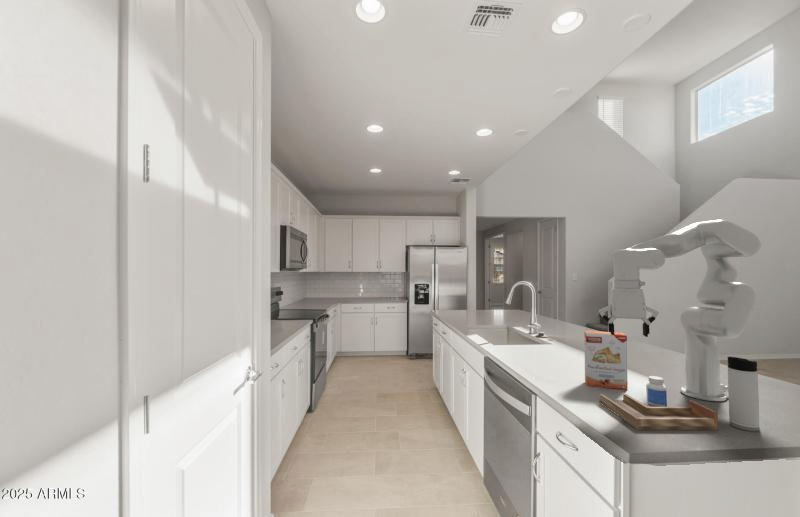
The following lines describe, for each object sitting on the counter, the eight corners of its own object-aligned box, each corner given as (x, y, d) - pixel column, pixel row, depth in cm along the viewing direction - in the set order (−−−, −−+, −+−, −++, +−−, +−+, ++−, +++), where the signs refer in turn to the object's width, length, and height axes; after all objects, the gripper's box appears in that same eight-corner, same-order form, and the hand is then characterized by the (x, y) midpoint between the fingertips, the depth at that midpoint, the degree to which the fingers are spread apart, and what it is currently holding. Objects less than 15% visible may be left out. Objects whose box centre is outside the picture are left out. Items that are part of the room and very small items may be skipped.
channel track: (666, 402, 120) (666, 388, 120) (718, 429, 100) (717, 412, 100) (599, 402, 121) (599, 388, 121) (637, 429, 101) (637, 412, 101)
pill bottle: (670, 411, 113) (669, 380, 113) (651, 410, 114) (651, 379, 114) (661, 404, 118) (660, 375, 119) (643, 403, 119) (643, 374, 120)
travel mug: (722, 422, 105) (720, 354, 105) (742, 421, 105) (740, 354, 106) (744, 432, 99) (742, 360, 99) (766, 431, 99) (763, 359, 100)
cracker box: (586, 386, 137) (585, 332, 138) (584, 381, 143) (583, 329, 143) (628, 390, 132) (627, 334, 132) (625, 385, 138) (623, 332, 138)
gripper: (653, 284, 121) (655, 334, 121) (596, 284, 128) (598, 332, 127) (660, 285, 114) (662, 338, 114) (599, 285, 121) (601, 336, 120)
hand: (628, 335), depth 120 cm, fingers open, 9 cm apart
